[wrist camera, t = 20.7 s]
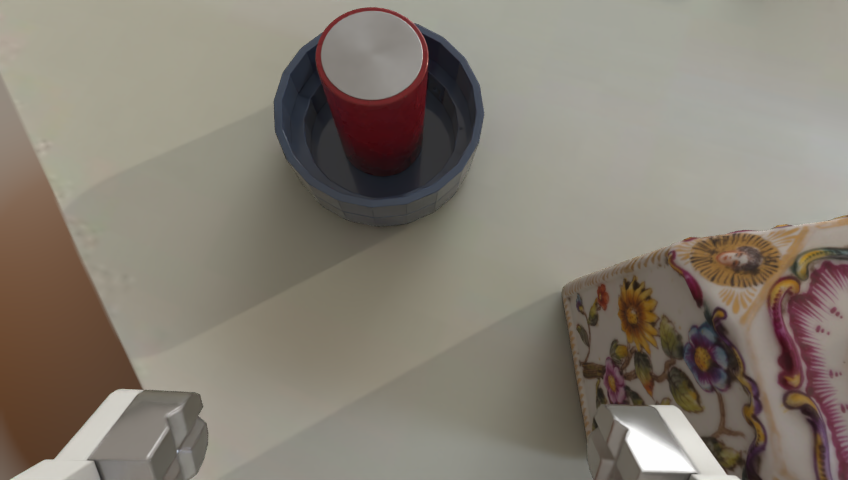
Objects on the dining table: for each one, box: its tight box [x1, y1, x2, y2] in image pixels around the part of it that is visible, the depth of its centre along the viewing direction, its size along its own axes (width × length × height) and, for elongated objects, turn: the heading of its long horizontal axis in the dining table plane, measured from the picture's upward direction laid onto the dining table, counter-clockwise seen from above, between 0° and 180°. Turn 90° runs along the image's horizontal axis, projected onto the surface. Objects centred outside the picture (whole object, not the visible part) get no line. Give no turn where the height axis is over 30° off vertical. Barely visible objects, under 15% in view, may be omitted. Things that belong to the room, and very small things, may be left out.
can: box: [315, 7, 429, 176], centre depth 27 cm, size 6×6×10 cm
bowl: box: [274, 23, 484, 227], centre depth 30 cm, size 13×13×5 cm
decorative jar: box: [562, 215, 848, 480], centre depth 21 cm, size 12×12×18 cm
